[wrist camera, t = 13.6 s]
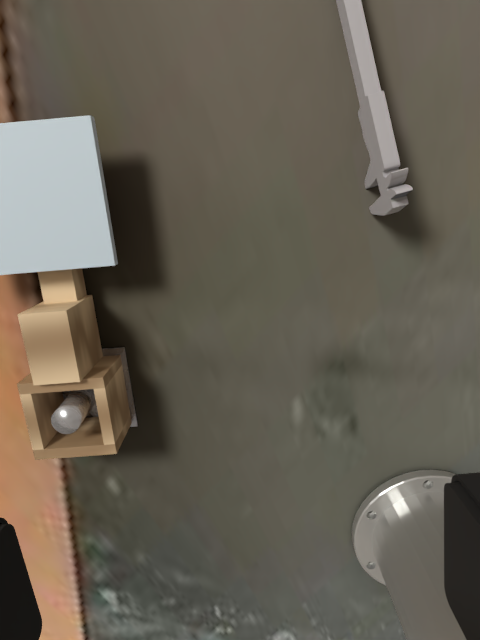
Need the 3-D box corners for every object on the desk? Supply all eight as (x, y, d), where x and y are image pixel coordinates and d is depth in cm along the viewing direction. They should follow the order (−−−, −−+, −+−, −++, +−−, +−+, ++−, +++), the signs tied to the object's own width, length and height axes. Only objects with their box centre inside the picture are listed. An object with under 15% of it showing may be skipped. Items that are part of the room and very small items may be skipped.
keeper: (130, 257, 32) (115, 265, 28) (-16, 269, 32) (-51, 279, 28) (109, 126, 29) (90, 115, 25) (-49, 139, 29) (-92, 131, 25)
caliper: (383, 209, 31) (418, 213, 25) (368, 214, 31) (400, 218, 25) (325, -129, 25) (352, -230, 19) (307, -123, 25) (329, -221, 19)
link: (131, 423, 35) (114, 457, 30) (60, 428, 35) (31, 463, 30) (94, 197, 30) (67, 196, 26) (11, 204, 30) (-31, 204, 26)
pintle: (138, 425, 35) (122, 461, 31) (55, 431, 36) (27, 467, 31) (124, 346, 34) (106, 371, 29) (37, 353, 34) (4, 379, 29)
